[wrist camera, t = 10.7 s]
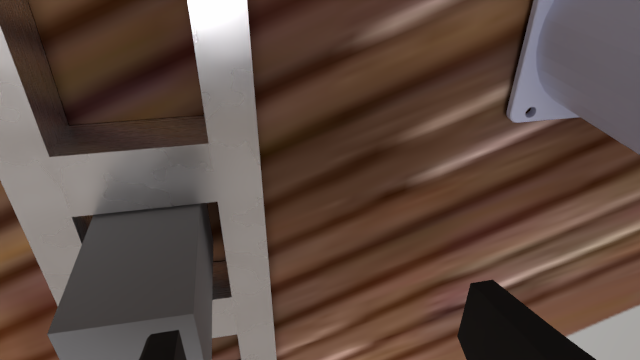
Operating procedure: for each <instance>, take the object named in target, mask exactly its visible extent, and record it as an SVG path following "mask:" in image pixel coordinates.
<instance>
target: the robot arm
mask: <svg viewBox="0 0 640 360" xmlns="http://www.w3.org/2000/svg"><path fill="white" fill-rule="evenodd" d="M530 107H531V110H530V111H529V112H528V113H527V114H525V113H526V111H527V109H529V108H530ZM507 117H508V118H509V119H510V120H511V121H513V122H516V123H520V122H531V121H543V120H554V119H565V118H577V117H581V118H582V119H584V120H586V121H587V122H589V123H590V124H592V125H593V126H595V127H597V128H598V129H600V130H601V131H603V132H604V133H606V134H608V135H609V136H611V137H612V138H614V139H616V140H617V141H619V142H620V143H622V144H623V145H625V146H627V147H628V148H630V149H631V150H633V151H634V152H636V153H638V154H639V155H640V0H534V1H533V5H532V9H531V13H530V17H529V21H528V25H527V30H526V34H525V38H524V42H523V46H522V50H521V54H520V58H519V62H518V67H517V71H516V75H515V79H514V83H513V87H512V91H511V95H510V100H509V104H508V108H507ZM458 339H459V341H460V344H461V347H462V349H463V352H464V354H465V357H466V359H467V360H596V359H595V358H593V357H592V356H591V355H589V354H588V353H586V352H585V351H583V350H582V349H581V348H579V347H578V346H577V345H576V344H574V343H573V342H571V341H570V340H569V339H568V338H566V337H565V336H564V335H562V334H561V333H560V332H558V331H557V330H556V329H554V328H553V327H552V326H551V325H549V324H548V323H547V322H545V321H544V320H543V319H542V318H540V317H539V316H538V315H537V314H535V313H534V312H533V311H532V310H530V309H529V308H528V307H526V306H525V305H524V304H523V303H521V302H520V301H519V300H518V299H516V298H515V297H514V296H513V295H511V294H510V293H509V292H508V291H506V290H505V289H504V288H503V287H501V286H500V285H499V284H497V283H496V282H495V281H493V280H488V281H482V282H476V283H471V284H470V288H469V292H468V296H467V300H466V304H465V308H464V312H463V316H462V320H461V324H460V328H459V332H458ZM139 360H187V359H186V356H185V352H184V348H183V344H182V340H181V336H180V332H179V330H174V331H167V332H161V333H155V334H151V335H150V336H149V337H148V338H147V340H146V343H145V345H144V348H143V351H142V353H141V356H140V358H139Z"/></svg>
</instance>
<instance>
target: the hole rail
mask: <svg viewBox="0 0 640 360" xmlns="http://www.w3.org/2000/svg"><path fill="white" fill-rule="evenodd" d="M187 2H188V8H189V15H190V22H191V28H192V35H193V42H194V48H195V55H196V62H197V68H198V75H199V82H200V88H201V95H202V102H203V108H204V116H191V117H178V118H165V119H152V120H138V121H125V122H112V123H99V124H86V125H73V126H69V124H68V121H67V118H66V115H65V112H64V109H63V106H62V103H61V100H60V97H59V94H58V91H57V88H56V85H55V82H54V79H53V76H52V73H51V70H50V67H49V64H48V61H47V58H46V55H45V52H44V49H43V46H42V43H41V40H40V37H39V34H38V31H37V28H36V25H35V22H34V19H33V16H32V13H31V10H30V7H29V4H28V1H27V0H0V180H1V182H2V185H3V187H4V189H5V191H6V193H7V196H8V198H9V200H10V202H11V204H12V207H13V209H14V211H15V213H16V215H17V218H18V220H19V222H20V224H21V226H22V229H23V231H24V233H25V235H26V237H27V240H28V242H29V244H30V246H31V248H32V251H33V253H34V255H35V257H36V259H37V261H38V264H39V266H40V268H41V270H42V272H43V275H44V277H45V279H46V281H47V283H48V286H49V288H50V290H51V292H52V294H53V297H54V299H55V301H56V303H57V305H58V306H59V303H60V300H61V298H62V295H63V293H64V290H65V287H66V285H67V282H68V280H69V277H70V274H71V272H72V269H73V267H74V264H75V261H76V259H77V256H78V254H79V251H80V248H81V246H82V243H83V241H84V238H85V235H86V233H87V230H88V228H89V225H90V222H91V220H92V217H93V215H96V214H105V213H114V212H124V211H133V210H143V209H152V208H162V207H171V206H181V205H190V204H200V203H209V202H218V208H219V215H220V222H221V228H222V235H223V241H224V248H225V255H226V261H221V262H213V296H212V338H216V337H222V336H229V335H236V334H237V335H238V341H239V348H240V355H241V360H277V359H276V347H275V335H274V322H273V310H272V298H271V286H270V274H269V262H268V250H267V238H266V225H265V213H264V201H263V189H262V177H261V165H260V153H259V141H258V128H257V116H256V104H255V92H254V80H253V68H252V56H251V43H250V31H249V19H248V7H247V0H187Z"/></svg>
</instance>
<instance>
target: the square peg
mask: <svg viewBox="0 0 640 360" xmlns="http://www.w3.org/2000/svg"><path fill="white" fill-rule="evenodd" d="M212 296H213V237H212V231H211V225H210V219H209V213H208V207H207V203H200V204H190V205H181V206H171V207H162V208H152V209H143V210H133V211H124V212H114V213H105V214H96V215H93V217H92V220H91V222H90V225H89V228H88V230H87V233H86V235H85V238H84V241H83V243H82V246H81V248H80V251H79V254H78V256H77V259H76V261H75V264H74V267H73V269H72V272H71V274H70V277H69V280H68V282H67V285H66V287H65V290H64V293H63V295H62V298H61V300H60V303H59V306H58V308H57V311H56V313H55V316H54V319H53V321H52V324H51V326H50V329H49V332H48V334H47V335H48V337H49V339H50V341H51V343H52V345H53V347H54V349H55V351H56V353H57V355H58V357H59V359H60V360H139V358H140V356H141V353H142V351H143V348H144V345H145V343H146V340H147V338H148V337H149V336H150V335H151V334H155V333H161V332H167V331H174V330H179V332H180V336H181V340H182V344H183V348H184V352H185V356H186V359H187V360H212Z"/></svg>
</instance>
